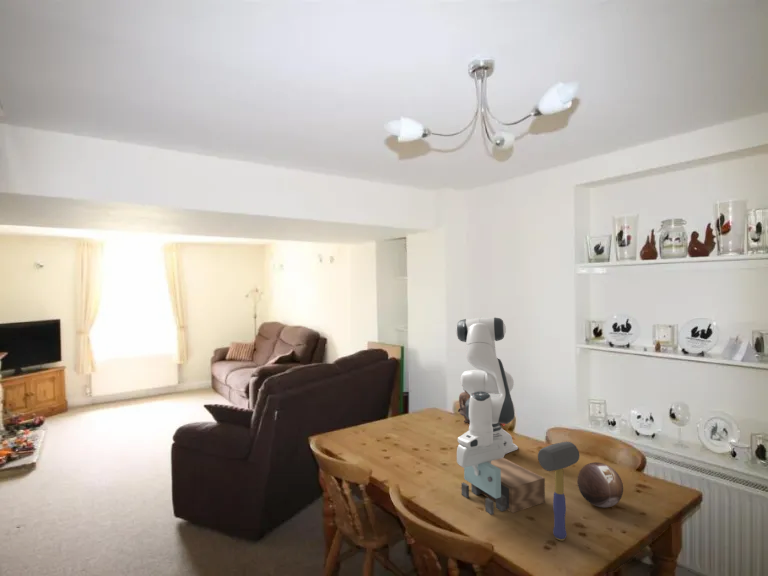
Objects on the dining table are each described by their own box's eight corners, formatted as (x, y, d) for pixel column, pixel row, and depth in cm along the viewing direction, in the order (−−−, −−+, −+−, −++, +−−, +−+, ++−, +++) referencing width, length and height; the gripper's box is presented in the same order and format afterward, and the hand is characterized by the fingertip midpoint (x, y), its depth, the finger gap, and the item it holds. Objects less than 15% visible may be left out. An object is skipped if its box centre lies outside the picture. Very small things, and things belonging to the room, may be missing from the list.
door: (469, 477, 170) (468, 452, 170) (501, 497, 154) (500, 469, 154) (462, 479, 169) (462, 453, 169) (494, 499, 153) (493, 470, 153)
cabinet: (503, 479, 181) (503, 457, 181) (544, 502, 161) (544, 477, 161) (457, 492, 170) (457, 469, 170) (495, 518, 151) (495, 492, 151)
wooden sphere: (603, 519, 149) (602, 475, 149) (568, 500, 163) (568, 460, 163) (633, 509, 155) (632, 467, 155) (597, 492, 169) (596, 453, 169)
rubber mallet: (556, 550, 132) (555, 451, 132) (536, 538, 138) (535, 444, 138) (583, 538, 138) (581, 444, 138) (562, 527, 144) (561, 437, 144)
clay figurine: (472, 418, 266) (471, 377, 266) (483, 422, 257) (482, 380, 257) (455, 421, 260) (454, 379, 260) (465, 425, 251) (465, 382, 251)
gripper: (496, 429, 169) (497, 465, 169) (453, 438, 160) (454, 476, 160) (508, 434, 164) (508, 471, 164) (464, 444, 154) (465, 483, 154)
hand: (481, 473), depth 162 cm, fingers closed on door, 2 cm apart
